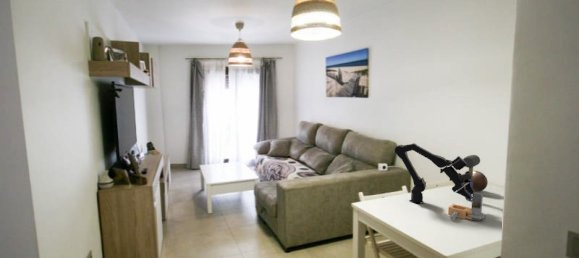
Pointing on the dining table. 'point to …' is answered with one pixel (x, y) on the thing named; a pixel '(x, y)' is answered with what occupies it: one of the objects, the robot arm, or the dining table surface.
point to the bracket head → (465, 212)
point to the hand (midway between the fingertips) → (472, 196)
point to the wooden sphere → (479, 181)
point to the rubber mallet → (471, 167)
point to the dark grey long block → (477, 200)
